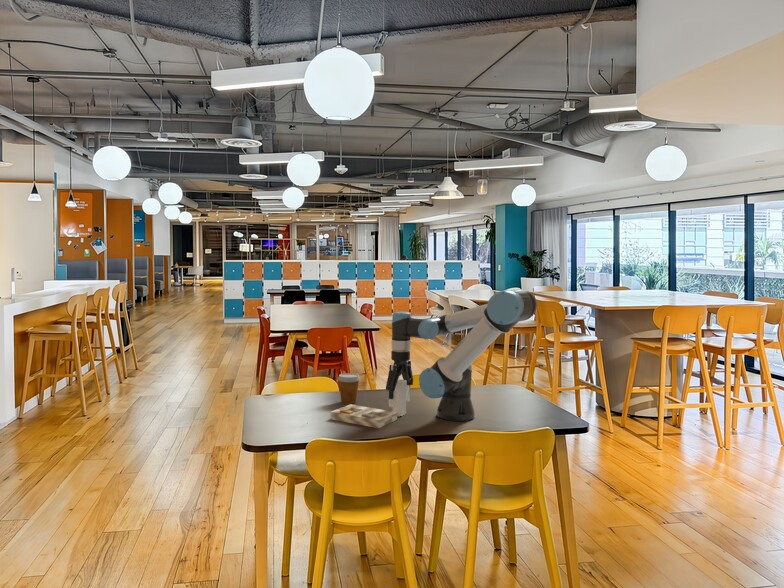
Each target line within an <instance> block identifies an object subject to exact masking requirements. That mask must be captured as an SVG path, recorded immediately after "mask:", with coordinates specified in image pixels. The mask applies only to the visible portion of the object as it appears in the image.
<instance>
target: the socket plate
mask: <svg viewBox="0 0 784 588" xmlns="http://www.w3.org/2000/svg"><path fill="white" fill-rule="evenodd" d="M330 420H333V421H338V422H342V423H343V422H344V423H349V424H355V425H360V426H365V427H370V428H374V429H380V428H383V427H384V426H387V425H389V424H391V423H393V422H396V421H397V420H398V416H397V412H393V410H385V409H381V408H375V407H369V406H362V405H357V404H346V405H345V406H343V407H340V408H337V409H334V410H332V411H330Z"/></svg>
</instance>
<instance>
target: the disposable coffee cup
mask: <svg viewBox="0 0 784 588" xmlns="http://www.w3.org/2000/svg"><path fill="white" fill-rule="evenodd" d="M337 380H338V383H339V393H340V403H341V404H343V405H350V404H352V405H355V404H356V403H357V396H358V388H359V383H360V382H359V381H360V380H361V378H360V375H359V374H358V373H350V372H349V373H345V372H344V373H340V374H339V375H338V377H337Z"/></svg>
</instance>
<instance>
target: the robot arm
mask: <svg viewBox="0 0 784 588" xmlns="http://www.w3.org/2000/svg"><path fill="white" fill-rule="evenodd" d="M537 307H538V302H537V299H536V297H535V296H534V294H533V293H532V292H530V291H529V290H526V289H522V288H517V289H504V290H500V291H497V292H495V293H494V294H492V296H491V297H489V299H488V302H487V303H485V304H482V305H478V306H474V307H471V308H467V309H462V310H460V311H455V312H451V313H448V314H447V313H446V314H443V315H440V316H436V317H427V318H414V317H412V314H411V312H409V311H395V312H393V313H392V318H391V319H392V321H391V356H390V357H391V358H390V359H391V360H392V361H393V364H389V366H388V367H389V369H388V376H387V379H386V385H385V390H386V391H388V407H389V408H393V407H395V406H396V391H394V390H395V387H396V384H397V381H398V379H399V378H400V376H401V377H402V380H407V390H406V402H411V386H413V385H414V377H413V376H414V375H413V370H412V361H411V360H410V359H411V351H410V350H411V338H418V339H423V340H434V339H436V337H439V336H444V335H445V336H446V335H449V334H452V333H455V332H459V331H463V330H467V329H471V330H469V332H468V333H467V334H466V335H465V336H464V337H463V338H462V339H461V340H460V341H459V343H458V344H456V346H455V347H454V348H453V349H452V350H451V351H450V352H449V353H448V354H447V355H446V356H445V357H443V356H441V357H439V358H438V359H437V360H436V361H435V363H434V364H433V365H432V366H431V367H426V368H425V369H424V370H422V371H421V372H420V374H419V377H418V382H419V383H418V385H419V388H420V390H421V393H422V394H424V396H426V397H427V398H429V399H440V401H439V404H438V407H437V409H436V417H438V418H439V419H442V420H444V421H451V422H452V421H453V422H464V421H465V422H466V421H470V420H473V419H474V418H475V409H474V405H473V401H472V397H471V395H472V374H473V373H472V372H473V370H472V364H473V363H474V361H475V360H478V358H479V357H480V356H481V354H483V352H485V350H486V349H487V348H488V347H489V346H490V345H491V344H492V343H493V342H494V341H496V339H497V338H498V337H499V336H500V335H501V334H508V333H509V332H511V330H512V329H513V328H514V327H515V326H516V325H517V324H518V323H519V322H524V321H527V320H529V319H531V318H532V317H533V316H534V315H535V313H536V311H537Z"/></svg>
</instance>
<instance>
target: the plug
mask: <svg viewBox="0 0 784 588" xmlns="http://www.w3.org/2000/svg"><path fill="white" fill-rule="evenodd" d="M406 390H407V380H403V379H399V378H398V381H397V384H396V387H395V390H394V391H396V406H395V407H392V412H397V417H400V416H402V417H404V416H406V415H405V414H407V401H406ZM403 415H404V416H403Z"/></svg>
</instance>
